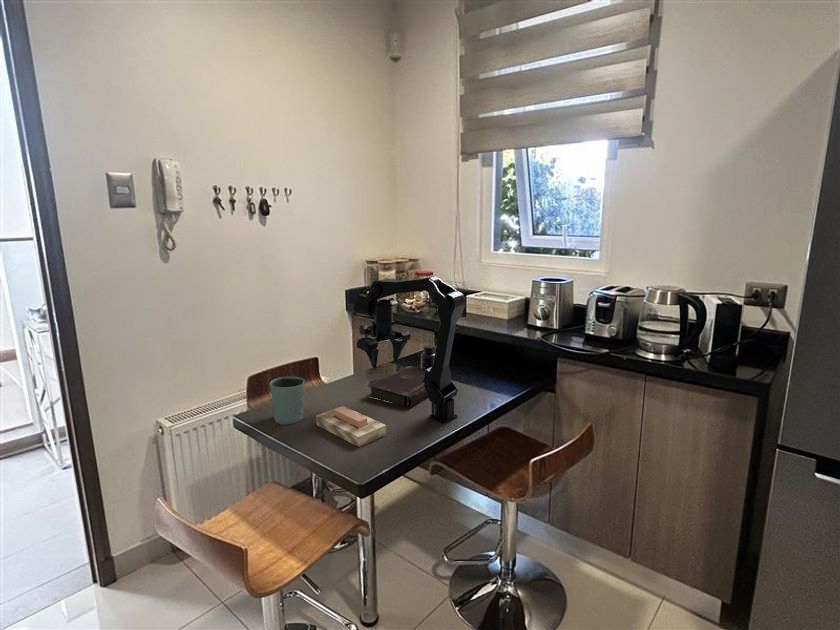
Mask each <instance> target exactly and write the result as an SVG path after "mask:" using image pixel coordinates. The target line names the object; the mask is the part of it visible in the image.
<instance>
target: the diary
mask: <svg viewBox="0 0 840 630" xmlns="http://www.w3.org/2000/svg"><path fill="white" fill-rule="evenodd" d="M425 370H426V369H423V368H421V367H417V366H410V365H409V366H408V365H407V366H406V367H403V368H402V369H399V370H398V371H395V372H394V373H392V374H390V375H387V376H384V377H382V378H379V379H378V380H375V381H374V382H371V383H369V384H368V385H367V387H368V388H370V391H371V393H370V396H371V397H373V398H378V399H381V400H385V401H389V402H393V403H392V404H396V405H400V406H406V407H408V406H409V409H411V407H412V408H413V407H414V405H415V406H416V405H417V403H418V404H419V403H421V402H422V401H424V400H425V399H427V398H429V397H428V394H427V391H426V389H425V388H424V382H423V380H424V377H425Z"/></svg>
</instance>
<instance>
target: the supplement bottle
mask: <svg viewBox="0 0 840 630" xmlns="http://www.w3.org/2000/svg"><path fill="white" fill-rule="evenodd" d="M422 350H423V352H422V353H421V354H420V368H423V369H428V368H430V367H432V366H433V362H434V356H435V350H436V345H435V344H425V345H424V346H423V349H422Z"/></svg>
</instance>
